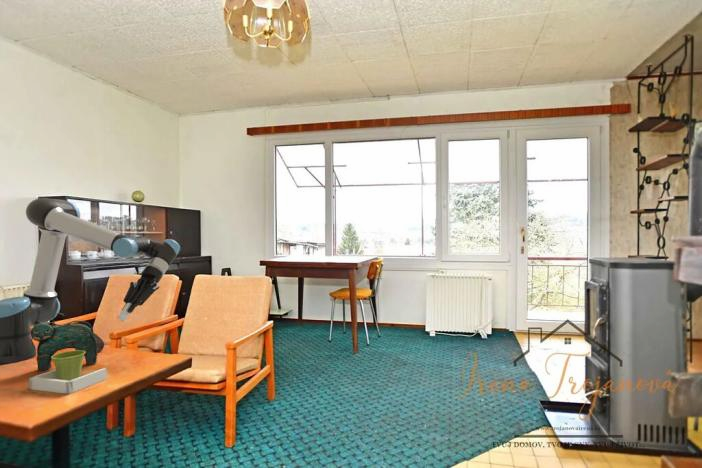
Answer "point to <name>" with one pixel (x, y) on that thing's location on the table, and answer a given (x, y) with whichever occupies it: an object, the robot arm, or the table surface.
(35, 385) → the white u-shaped frame
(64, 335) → the ceramic cat
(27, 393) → the table surface
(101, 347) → the decorative rock
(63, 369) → the plant pot
